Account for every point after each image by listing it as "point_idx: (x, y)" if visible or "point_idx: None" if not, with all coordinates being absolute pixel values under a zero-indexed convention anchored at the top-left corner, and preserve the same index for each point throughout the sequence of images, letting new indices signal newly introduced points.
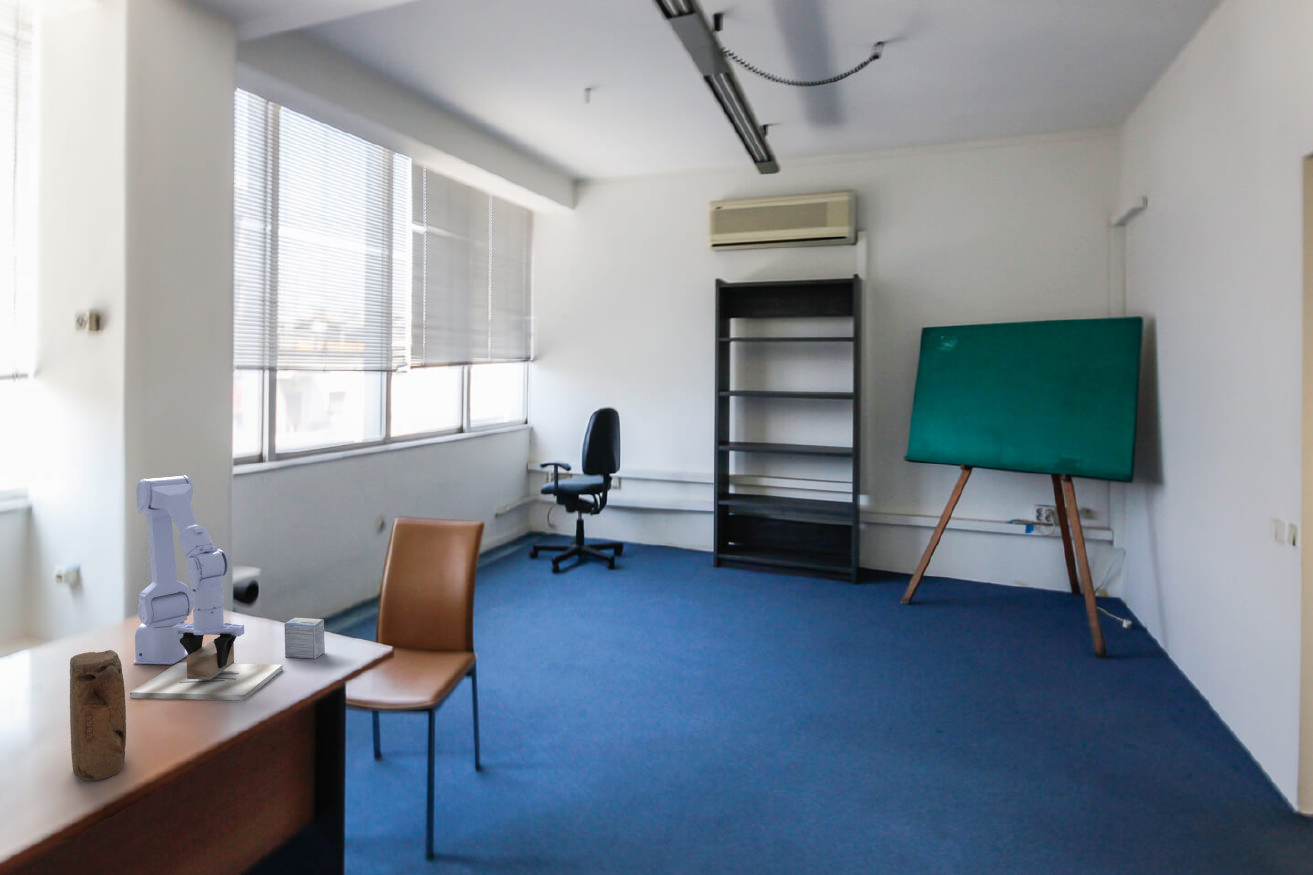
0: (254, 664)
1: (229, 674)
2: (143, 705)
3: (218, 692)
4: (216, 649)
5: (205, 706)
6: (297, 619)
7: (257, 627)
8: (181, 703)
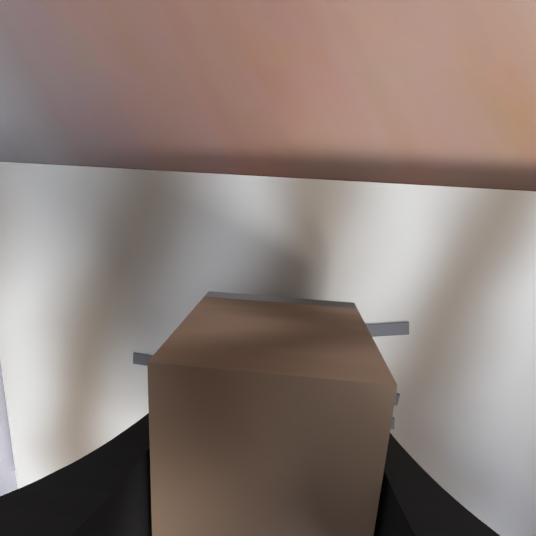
0: None
1: None
2: (489, 95)
3: (126, 193)
4: (118, 481)
5: (146, 86)
6: None
7: None
8: (291, 124)
